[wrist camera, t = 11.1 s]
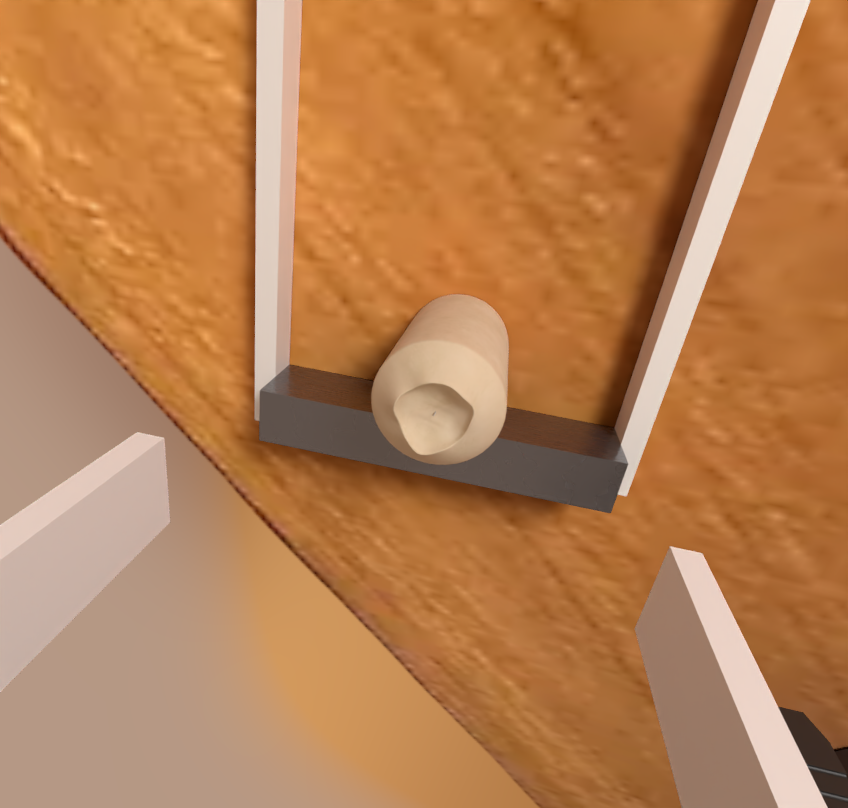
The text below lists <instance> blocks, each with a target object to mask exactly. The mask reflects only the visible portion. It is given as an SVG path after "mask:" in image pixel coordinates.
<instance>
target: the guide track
mask: <svg viewBox="0 0 848 808" xmlns="http://www.w3.org/2000/svg"><path fill="white" fill-rule="evenodd" d="M809 3H810V0H758V2H757V5H756V8H755V11H754V14H753V17H752V20H751V23H750V26H749V29H748V32H747V35H746V38H745V41H744V43H743V46H742V49H741V52H740V55H739V58H738V61H737V64H736V67H735V70H734V73H733V76H732V79H731V82H730V85H729V88H728V91H727V94H726V97H725V100H724V103H723V106H722V109H721V112H720V115H719V118H718V121H717V124H716V127H715V130H714V133H713V136H712V139H711V142H710V145H709V148H708V151H707V154H706V157H705V160H704V163H703V166H702V168H701V171H700V174H699V177H698V180H697V183H696V186H695V189H694V192H693V195H692V198H691V201H690V204H689V207H688V210H687V213H686V216H685V219H684V222H683V225H682V228H681V231H680V234H679V237H678V240H677V243H676V246H675V249H674V252H673V255H672V258H671V261H670V264H669V267H668V270H667V273H666V276H665V279H664V282H663V285H662V288H661V291H660V293H659V296H658V299H657V302H656V305H655V308H654V311H653V314H652V317H651V320H650V323H649V326H648V329H647V332H646V335H645V338H644V341H643V344H642V347H641V350H640V353H639V356H638V359H637V362H636V365H635V368H634V371H633V374H632V377H631V380H630V383H629V386H628V389H627V392H626V395H625V398H624V401H623V404H622V407H621V410H620V413H619V415H618V418H617V421H616V424H615V427H614V428H613V427H608V426H602V425H597V424H592V423H587V422H582V421H577V420H572V419H567V418H561V417H556V416H551V415H546V414H541V413H536V412H531V411H525V410H520V409H515V408H510V407H507V411H506V417H505V422H504V425H503V428H502V430H501V432H500V434H499V435H498V437H497V438H496V440H495V441H494V442H493V443H492V444H491V446H490V447H489V448H487V449H486V450H485V451H484V452H483V453H481V454H479V455H478V456H476V457H474V458H472V459H470V460H468V461H464V462H461V463H457V464H450V465H435V464H429V463H424V462H421V461H418V460H415V459H413V458H410V457H409V456H407V455H405V454H403V453H402V452H400V451H399V450H398V449H396V448H395V447H394V446H393V445H392V444H391V443H390V442H389V441H388V440H387V439H386V438H385V437H384V435H383V434H382V432H381V431H380V429H379V427H378V425H377V423H376V421H375V418H374V415H373V411H372V404H371V392H372V387H373V383H374V381H371V380H366V379H361V378H356V377H351V376H346V375H340V374H335V373H330V372H325V371H320V370H315V369H310V368H304V367H299V366H294V365H289V359H290V331H291V303H292V274H293V246H294V218H295V190H296V162H297V133H298V105H299V77H300V49H301V21H302V0H257V73H256V252H255V420H256V421H259V440H260V441H265V442H270V443H275V444H280V445H284V446H289V447H294V448H299V449H304V450H309V451H313V452H318V453H323V454H328V455H333V456H337V457H342V458H347V459H352V460H357V461H362V462H366V463H371V464H376V465H381V466H386V467H390V468H395V469H400V470H405V471H410V472H414V473H419V474H424V475H429V476H434V477H439V478H443V479H448V480H453V481H458V482H463V483H467V484H472V485H477V486H482V487H487V488H492V489H496V490H501V491H506V492H511V493H516V494H520V495H525V496H530V497H535V498H540V499H544V500H549V501H554V502H559V503H564V504H569V505H573V506H578V507H583V508H588V509H593V510H597V511H602V512H607V513H611V511H612V508H613V505H614V503H615V500H616V497H617V494H618V495H623V496H627V494H628V491H629V489H630V486H631V483H632V480H633V478H634V475H635V472H636V470H637V467H638V464H639V462H640V459H641V456H642V453H643V451H644V448H645V445H646V443H647V440H648V437H649V435H650V432H651V429H652V426H653V424H654V421H655V418H656V416H657V413H658V410H659V408H660V405H661V402H662V399H663V397H664V394H665V391H666V389H667V386H668V383H669V381H670V378H671V375H672V372H673V370H674V367H675V364H676V362H677V359H678V356H679V354H680V351H681V348H682V345H683V343H684V340H685V337H686V335H687V332H688V329H689V327H690V324H691V321H692V319H693V316H694V313H695V310H696V308H697V305H698V302H699V300H700V297H701V294H702V292H703V289H704V286H705V283H706V281H707V278H708V275H709V273H710V270H711V267H712V265H713V262H714V259H715V256H716V254H717V251H718V248H719V246H720V243H721V240H722V238H723V235H724V232H725V229H726V227H727V224H728V221H729V219H730V216H731V213H732V211H733V208H734V205H735V202H736V200H737V197H738V194H739V192H740V189H741V186H742V184H743V181H744V178H745V175H746V173H747V170H748V167H749V165H750V162H751V159H752V157H753V154H754V151H755V149H756V146H757V143H758V140H759V138H760V135H761V132H762V130H763V127H764V124H765V122H766V119H767V116H768V113H769V111H770V108H771V105H772V103H773V100H774V97H775V95H776V92H777V89H778V86H779V84H780V81H781V78H782V76H783V73H784V70H785V68H786V65H787V62H788V59H789V57H790V54H791V51H792V49H793V46H794V43H795V41H796V38H797V35H798V32H799V30H800V27H801V24H802V22H803V19H804V16H805V14H806V11H807V8H808V5H809Z"/></svg>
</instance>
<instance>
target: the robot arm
mask: <svg viewBox="0 0 848 808" xmlns="http://www.w3.org/2000/svg"><path fill="white" fill-rule="evenodd" d="M166 470H167V469H166V455H165V441H164V438H163V437H158V436H153V435H149V434H144V433H139V432H137V433H135V434H134V435H132V436H131V437H129V438H128V439H126V440H125V441H123V442H122V443H120V444H119V445H118V446H116V447H115V448H113V449H112V450H110V451H109V452H107V453H106V454H104V455H103V456H101V457H100V458H98V459H97V460H95V461H94V462H93V463H91V464H89V465H88V466H87V467H85V468H84V469H82V470H81V471H79V472H78V473H76V474H75V475H73V476H72V477H70V478H69V479H67V480H66V481H64V482H63V483H61V484H60V485H58V486H57V487H55V488H54V489H53V490H51V491H50V492H48V493H47V494H45V495H44V496H42V497H41V498H39V499H38V500H36V501H35V502H33V503H32V504H31V505H29V506H28V507H26V508H25V509H23V510H21V511H20V512H19V513H17V514H16V515H14V516H13V517H12V518H10V519H8V520H7V521H5V522H4V523H2V524H0V692H1V691H2V690H3V689H4V688H5V687H6V686H7V685H8V684H9V683H10V682H11V681H12V680H13V679H14V678H15V677H16V676H17V675H18V674H19V673H20V672H21V671H22V670H23V669H24V668H25V667H26V666H27V665H28V664H29V663H30V662H31V661H32V660H33V659H34V658H35V657H36V656H37V655H38V654H39V653H40V652H41V651H42V650H43V649H44V648H45V647H46V646H47V645H48V644H49V643H50V642H51V641H52V640H53V639H54V638H55V637H56V636H57V635H58V634H59V633H60V632H61V631H62V630H63V629H64V628H65V627H66V626H67V625H68V624H69V623H70V622H71V621H72V620H73V619H74V618H75V617H76V616H77V615H78V614H79V613H80V612H81V611H82V610H83V609H84V608H85V607H86V606H87V605H88V604H89V603H90V602H91V601H92V600H93V599H94V598H95V597H96V596H97V595H98V594H99V593H100V592H101V591H102V590H103V589H104V588H105V587H106V586H107V585H108V584H109V583H110V582H111V581H112V580H113V579H114V578H115V577H116V576H117V575H118V574H119V573H120V572H121V571H122V570H123V569H124V568H125V567H126V566H127V565H128V564H129V563H130V562H131V561H132V560H133V559H134V558H135V557H136V556H137V555H138V554H139V553H140V552H141V551H142V550H143V549H144V548H145V547H146V546H147V545H148V544H149V543H150V542H151V541H152V540H153V539H154V537H156V536H157V535H158V534H159V533H160V532H161V531H162V530H163V529H164V528H165V527H166V526H167V525H168V524H169V523H170V511H169V498H168V483H167V471H166ZM635 631H636V635H637V639H638V642H639V646H640V650H641V654H642V658H643V662H644V665H645V669H646V673H647V677H648V681H649V684H650V688H651V692H652V696H653V700H654V703H655V707H656V711H657V715H658V719H659V722H660V726H661V730H662V734H663V738H664V742H665V745H666V749H667V753H668V757H669V761H670V764H671V768H672V772H673V776H674V780H675V783H676V787H677V791H678V795H679V799H680V803H681V806H682V808H848V749H845V750H840V751H836V752H834V750H833V748H832V746H831V744H830V742H829V741H828V740H827V739H826V738H825V737H824V736H823V734H822V733H821V732H820V731H819V730H818V729H817V728H816V727H815V725H814V724H813V723H812V722H811V721H810V720H809V719H808V718H807V717H806V715H805V714H804V713H803V712H798V711H794V710H790V709H786V708H782V707H778V706H777V704H776V702H775V700H774V698H773V696H772V694H771V692H770V690H769V688H768V686H767V684H766V682H765V680H764V678H763V676H762V674H761V672H760V670H759V667H758V665H757V663H756V661H755V659H754V657H753V655H752V653H751V651H750V649H749V647H748V645H747V643H746V641H745V639H744V637H743V635H742V633H741V631H740V629H739V627H738V625H737V623H736V621H735V619H734V617H733V615H732V613H731V611H730V609H729V607H728V605H727V603H726V601H725V599H724V597H723V594H722V592H721V590H720V588H719V586H718V584H717V582H716V580H715V578H714V576H713V574H712V572H711V570H710V568H709V566H708V564H707V562H706V560H705V558H704V556H703V554H702V553H699V552H694V551H689V550H685V549H680V548H675V547H671V546H670V547H669V550H668V552H667V554H666V557H665V559H664V561H663V564H662V566H661V568H660V571H659V573H658V575H657V578H656V580H655V582H654V585H653V587H652V589H651V592H650V594H649V596H648V599H647V601H646V603H645V606H644V608H643V610H642V613H641V615H640V617H639V620H638V622H637V624H636V627H635Z"/></svg>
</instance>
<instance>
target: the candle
mask: <svg viewBox="0 0 848 808" xmlns="http://www.w3.org/2000/svg"><path fill="white" fill-rule="evenodd" d="M508 355H509V341H508V334H507V330H506V327H505V325H504V323H503V321H502V319H501V317H500V316H499V315H498V313H497V312H496V311H495V310H494V309H493V308H492V307H491V306H490V305H488V304H487V303H486V302H484V301H482V300H480V299H478V298H476V297H473V296H469V295H463V294H452V295H446V296H442V297H440V298H437V299H435V300H433V301H431V302H429V303H428V304H427V305H425V306H424V307H423V308H422V309H421V310H420V311H419V312H418V313H417V315H416V316H415V317H414V319H413V320H412V322H411V323H410V325H409V326H408V328H407V329H406V330H405V332H404V333H403V335H402V336H401V338H400V339H399V341H398V342H397V344H396V345H395V347H394V348H393V350H392V351H391V353H390V354H389V356H388V357H387V358H386V360H385V361H384V363H383V364H382V366H381V367H380V369H379V371H378V373H377V375H376V377H375V380H374V383H373V387H372V392H371V404H372V411H373V415H374V418H375V421H376V423H377V425H378V427H379V429H380V431H381V432H382V434H383V435H384V437H385V438H386V439H387V440H388V441H389V442H390V443H391V444H392V445H393V446H394V447H395V448H396V449H398V450H399V451H400V452H402V453H403V454H405V455H407V456H409V457H410V458H413V459H415V460H418V461H421V462H424V463H429V464H435V465H450V464H457V463H461V462H464V461H468V460H470V459H472V458H474V457H476V456H478V455H479V454H481V453H483V452H484V451H485V450H486V449H487V448H489V447H490V446H491V444H492V443H493V442H494V441H495V440H496V438H497V437H498V435H499V434H500V432H501V430H502V428H503V425H504V422H505V417H506V411H507V384H508Z"/></svg>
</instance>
